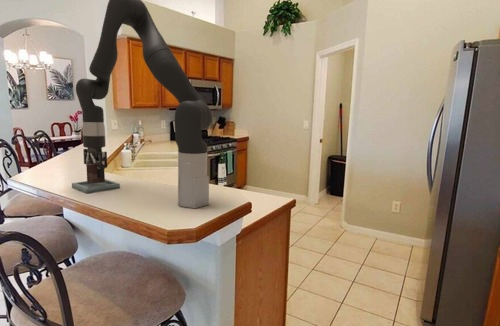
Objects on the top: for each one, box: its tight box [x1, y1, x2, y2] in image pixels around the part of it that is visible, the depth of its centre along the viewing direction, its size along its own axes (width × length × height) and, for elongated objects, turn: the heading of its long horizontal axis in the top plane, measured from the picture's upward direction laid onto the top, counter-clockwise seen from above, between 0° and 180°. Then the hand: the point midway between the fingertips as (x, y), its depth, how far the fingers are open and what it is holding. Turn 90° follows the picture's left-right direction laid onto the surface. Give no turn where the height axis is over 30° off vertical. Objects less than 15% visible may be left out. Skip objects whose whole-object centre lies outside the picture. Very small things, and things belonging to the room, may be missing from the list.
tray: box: [71, 178, 121, 194], centre depth 120 cm, size 12×12×2 cm
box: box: [85, 162, 106, 184], centre depth 119 cm, size 6×6×7 cm
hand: (95, 177), depth 119 cm, fingers closed on box, 7 cm apart
